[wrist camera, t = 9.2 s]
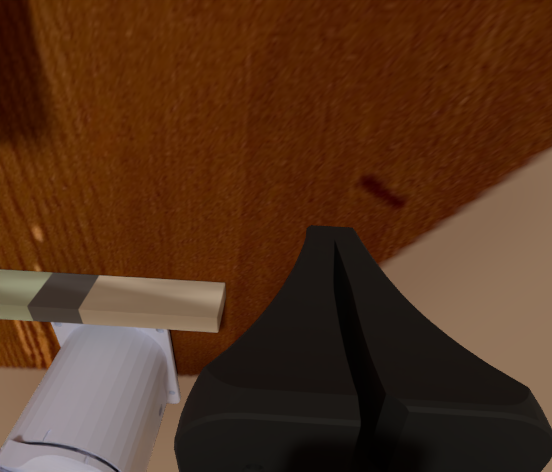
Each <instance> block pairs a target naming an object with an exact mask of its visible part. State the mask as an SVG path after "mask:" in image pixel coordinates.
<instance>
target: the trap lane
mask: <svg viewBox="0 0 552 472" xmlns="http://www.w3.org/2000/svg"><path fill="white" fill-rule="evenodd" d="M225 299H226V289H225V283H218V282H201V281H185V280H168V279H151V278H134V277H117V276H101V275H84V274H67V273H50V272H33V271H17V270H0V319H11V320H27V321H43V322H59V323H75V324H91V325H106V326H122V327H138V328H154V329H170V330H186V331H202V332H217V333H218V330H219V326H220V321H221V317H222V312H223V308H224V303H225Z"/></svg>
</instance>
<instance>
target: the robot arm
mask: <svg viewBox="0 0 552 472" xmlns="http://www.w3.org/2000/svg"><path fill="white" fill-rule="evenodd" d="M51 324H52V326H53V329H54V331H55V334H56V336H57V339H58V341H59V344H60V346H61V349H60V351H59V352H58V354H57V356H56V357H55V359H54V361H53V362H52V364H51V366H50V367H49V369H48V371H47V372H46V374H45V376H44V377H43V379H42V381H41V382H40V384H39V386H38V387H37V389H36V391H35V392H34V394H33V396H32V397H31V399H30V401H29V402H28V404H27V406H26V407H25V409H24V411H23V412H22V414H21V416H20V417H19V419H18V421H17V422H16V424H15V426H14V427H13V429H12V431H11V432H10V434H9V436H8V437H7V439H6V440H5V442H4V444H3V446H2V447H1V449H0V472H146V471H147V467H148V464H149V461H150V457H151V454H152V451H153V447H154V444H155V441H156V437H157V434H158V431H159V427H160V424H161V421H162V417H163V414H164V411H165V407H166V404H167V403H171V404H176V403H179V401H180V398H181V395H180V390H179V384H178V378H177V372H176V366H175V361H174V355H173V349H172V343H171V338H170V332H169V329H154V328H138V327H122V326H106V325H91V324H75V323H59V322H51ZM174 450H175V455H176V459H177V464H178V469H179V472H541V471H542V470H543V468H544V467H545V466H546V465H547V463H548V462H549V461H550V459H551V457H552V429H551V426H550V425H549V423H548V420H547V418H546V417H545V414H544V412H543V410H542V409H541V407H540V405H539V404H538V402H537V400H536V399H535V397H534V395H533V394H532V393H531V390H530V389H529V388H528V387H527V386H525V385H523V384H522V383H520V382H518V381H516V380H515V379H513V378H511V377H509V376H508V375H506V374H505V373H503V372H501V371H499V370H498V369H496V368H494V367H493V366H491V365H489V364H488V363H486V362H485V361H483V360H482V359H480V358H478V357H477V356H476V355H474V354H473V353H471V352H470V351H468V350H467V349H465V348H464V347H463V346H461V345H460V344H459V343H457V342H456V341H454V340H453V339H452V338H450V337H449V336H448V335H447V334H445V333H444V332H443V331H442V330H440V329H439V328H438V327H437V326H435V325H434V324H433V323H432V322H430V321H429V320H428V319H427V318H426V317H425V316H424V315H423V314H421V312H419V311H418V310H417V309H416V308H415V307H414V306H413V305H412V304H411V303H410V302H409V301H408V300H407V299H406V298H405V297H404V296H403V295H402V294H401V293H400V291H399V290H398V289H397V288H396V287H395V286H394V285H393V283H392V282H391V281H390V280H389V279H388V277H386V275H385V274H384V272H383V271H382V270H381V268H380V267H379V266H378V264H377V263H376V262H375V260H374V259H373V258H372V256H371V255H370V253H369V252H368V250H367V249H366V247H365V246H364V244H363V243H362V241H361V240H360V238H359V237H358V235H357V233H356V232H355V230H354V229H353V228H349V227H331V226H313V225H311V226H309V227H308V228H307V231H306V238H305V242H304V245H303V248H302V250H301V253H300V255H299V257H298V259H297V261H296V264H295V266H294V268H293V269H292V271H291V273H290V275H289V276H288V278H287V280H286V281H285V283H284V285H283V286H282V288H281V289H280V291H279V292H278V294H277V295H276V297H275V298H274V299H273V301H272V302H271V303H270V305H269V306H268V307H267V308H266V310H265V311H264V312H263V313H262V314H261V316H260V317H259V318H258V319H257V320H256V321H255V323H254V324H253V325H252V326H251V327H250V328H249V329H248V330H247V331H246V332H245V333H244V334H243V335H242V336H241V337H239V338H238V339H237V340H236V341H235V342H234V343H233V344H232V345H231V346H230V347H229V348H228V349H226V350H225V351H224V352H223V353H221V354H220V355H219V356H218V357H216V358H215V359H214V360H213V361H211V362H210V363H209V364H208V365H206V366H205V367H204V368H203V369H202V371H201V373H200V375H199V376H198V378H197V380H196V382H195V384H194V386H193V388H192V390H191V392H190V394H189V396H188V398H187V401H186V403H185V406H184V408H183V411H182V413H181V417H180V420H179V424H178V428H177V432H176V436H175V441H174Z"/></svg>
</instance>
